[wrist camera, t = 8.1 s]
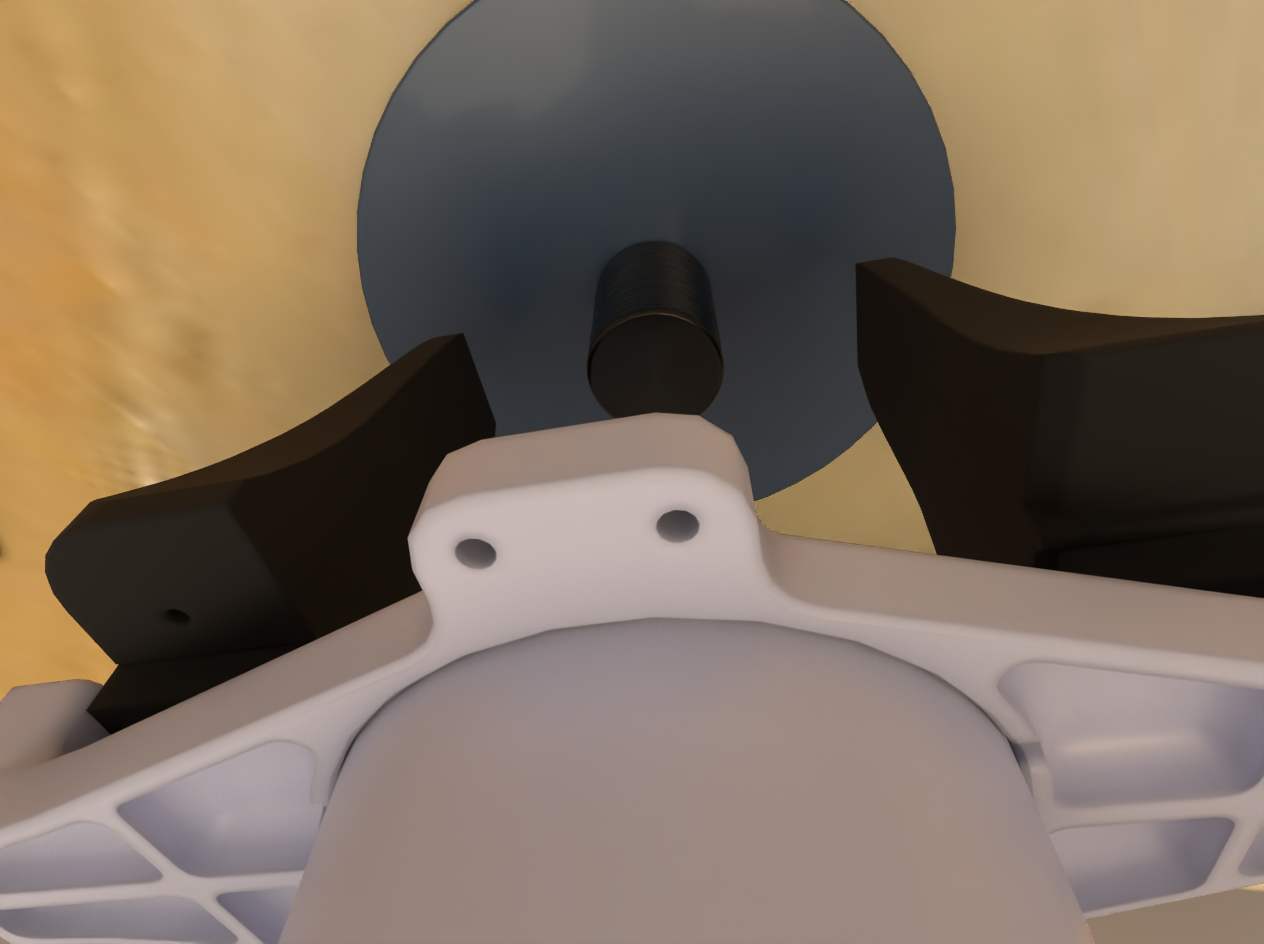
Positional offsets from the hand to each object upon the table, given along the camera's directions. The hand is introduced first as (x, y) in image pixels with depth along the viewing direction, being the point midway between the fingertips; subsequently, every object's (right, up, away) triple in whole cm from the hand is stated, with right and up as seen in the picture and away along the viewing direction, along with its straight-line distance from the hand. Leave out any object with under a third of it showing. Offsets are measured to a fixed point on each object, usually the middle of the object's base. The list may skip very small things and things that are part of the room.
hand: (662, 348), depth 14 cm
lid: (0, +2, +2) cm, 3 cm away
